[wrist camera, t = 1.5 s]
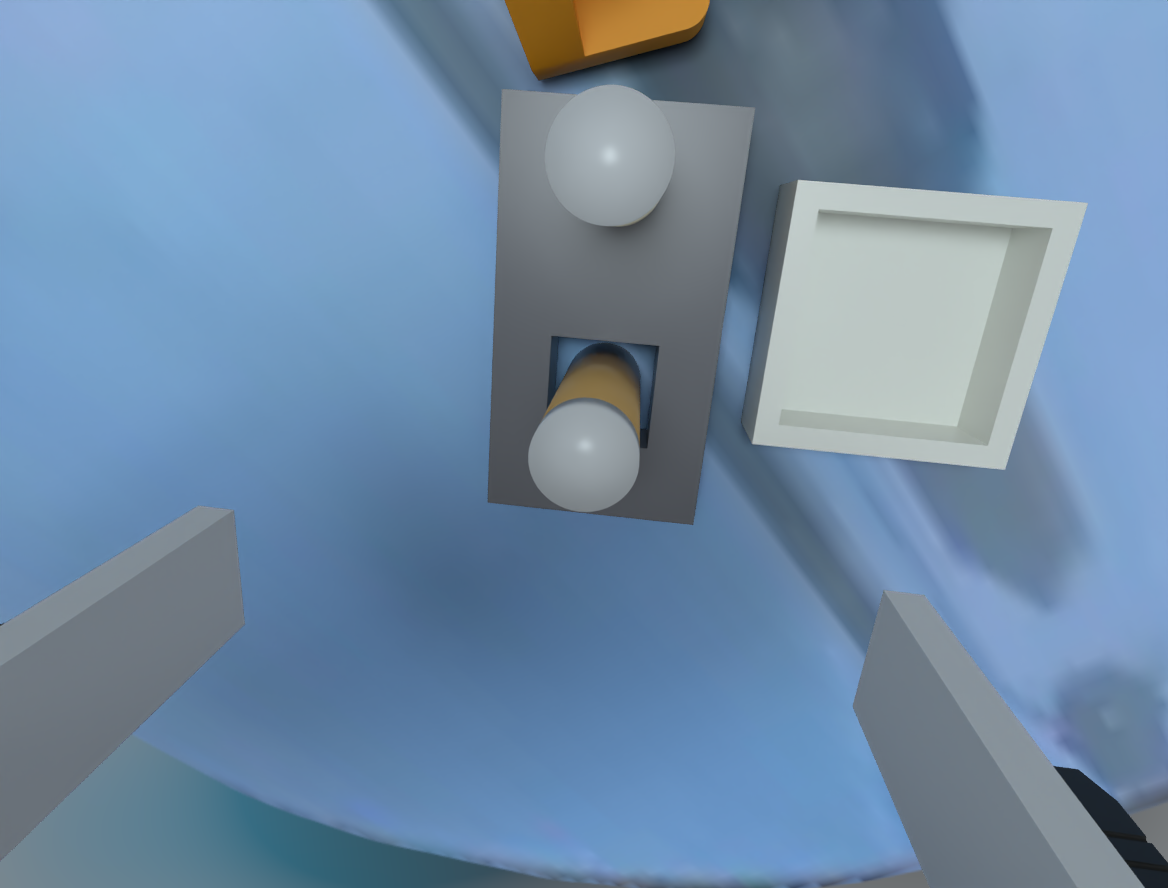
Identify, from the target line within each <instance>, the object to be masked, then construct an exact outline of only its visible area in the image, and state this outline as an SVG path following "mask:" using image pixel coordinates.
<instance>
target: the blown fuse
mask: <svg viewBox="0 0 1168 888" xmlns="http://www.w3.org/2000/svg"><path fill="white" fill-rule="evenodd" d="M639 456H640V371H639V367H638V365H637V363H636V361H635V359H634V358H633V356H632V355H631V354H630V353H629V352H628V351H627V350H625V349H624V348H622V347H620V346H618V345H615V344H612V343H596V344H592V345H590V346H588V347H586V348H584V349H583V350H581V351H580V352H579V353H578V354H577V355H576V356H575V358H574V359H573V361H572V363H571V365H570V367H569V369H568V370H567V372H566V374H565V376H564V378H563V380H562V382H561V384H560V386H559V388H558V390H557V392H556V393H555V395H554V397H553V399H552V401H551V403H550V405H549V407H548V409H547V411H546V413H545V415H544V416H543V418H542V420H541V422H540V424H539V426H538V428H537V430H536V432H535V434H534V436H533V438H532V440H531V443H530V447H529V453H528V463H529V469H530V473H531V476H532V478H533V480H534V482H535V484H536V486H537V487H538V489H539V490H540V491H541V492H542V493H543V494H544V495H545V496H546V497H547V498H548V499H549V500H551V501H552V502H553V503H555V504H557V505H558V506H561V507H563V508H565V509H569V510H572V511H578V512H593V511H599V510H602V509H605V508H608V507H610V506H612V505H614V504H615V503H617V502H619V501H620V500H621V499H622V498H623V497H624V496H625V495H626V494H627V493H628V492H629V491H630V489H631V488H632V486H633V484H634V482H635V480H636V478H637V475H638V470H639Z"/></svg>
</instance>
